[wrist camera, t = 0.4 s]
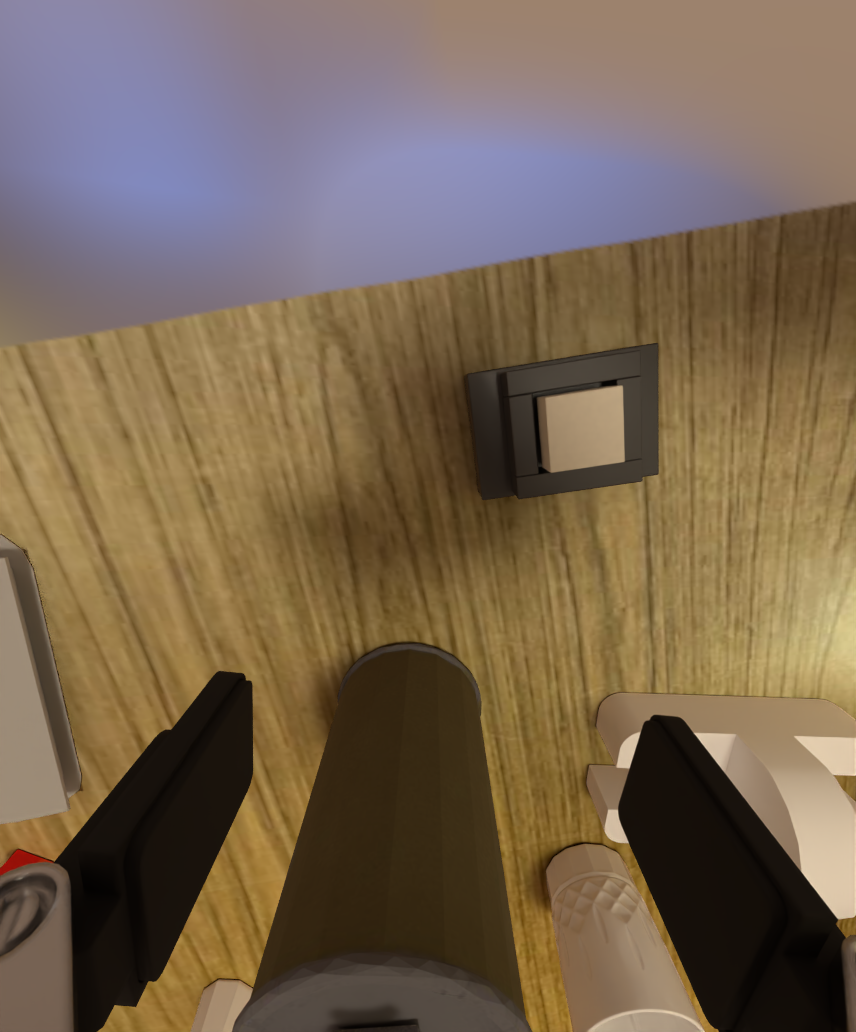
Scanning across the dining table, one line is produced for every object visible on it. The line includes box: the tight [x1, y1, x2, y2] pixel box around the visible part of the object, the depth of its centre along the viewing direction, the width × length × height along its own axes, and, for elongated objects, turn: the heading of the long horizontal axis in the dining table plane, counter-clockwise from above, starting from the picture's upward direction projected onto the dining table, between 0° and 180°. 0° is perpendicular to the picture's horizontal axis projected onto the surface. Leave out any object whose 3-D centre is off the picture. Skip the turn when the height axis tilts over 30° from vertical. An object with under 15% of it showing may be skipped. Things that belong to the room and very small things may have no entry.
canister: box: [232, 644, 532, 1032], centre depth 21 cm, size 11×10×20 cm
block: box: [464, 343, 659, 500], centre depth 23 cm, size 10×7×4 cm
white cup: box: [546, 844, 705, 1032], centre depth 30 cm, size 8×8×10 cm
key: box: [537, 385, 625, 473], centre depth 21 cm, size 4×4×2 cm
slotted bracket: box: [586, 693, 856, 919], centre depth 27 cm, size 18×10×10 cm, turn 88°
